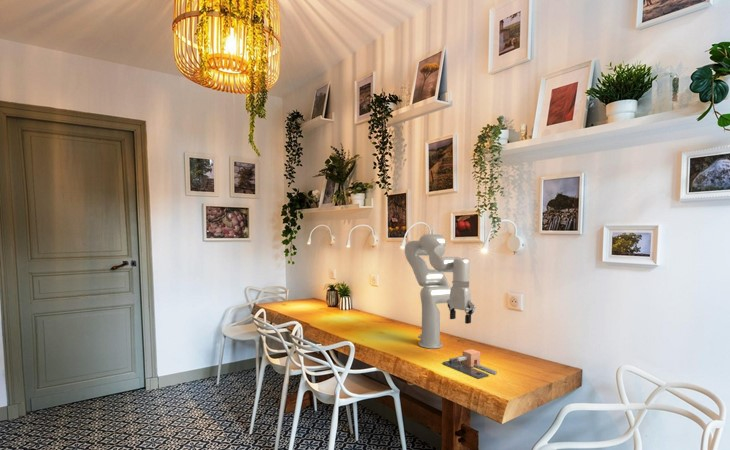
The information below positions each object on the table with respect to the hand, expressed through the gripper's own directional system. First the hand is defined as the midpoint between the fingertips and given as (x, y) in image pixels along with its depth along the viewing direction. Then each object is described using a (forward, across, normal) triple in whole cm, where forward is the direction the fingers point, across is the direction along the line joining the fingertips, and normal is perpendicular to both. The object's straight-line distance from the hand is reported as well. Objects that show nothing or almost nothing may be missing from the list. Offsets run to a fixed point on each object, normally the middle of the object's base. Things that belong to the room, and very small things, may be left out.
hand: (460, 321), depth 178 cm
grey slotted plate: (+18, +10, -4) cm, 21 cm away
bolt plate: (+18, +10, -8) cm, 22 cm away
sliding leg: (+18, +7, -3) cm, 20 cm away
